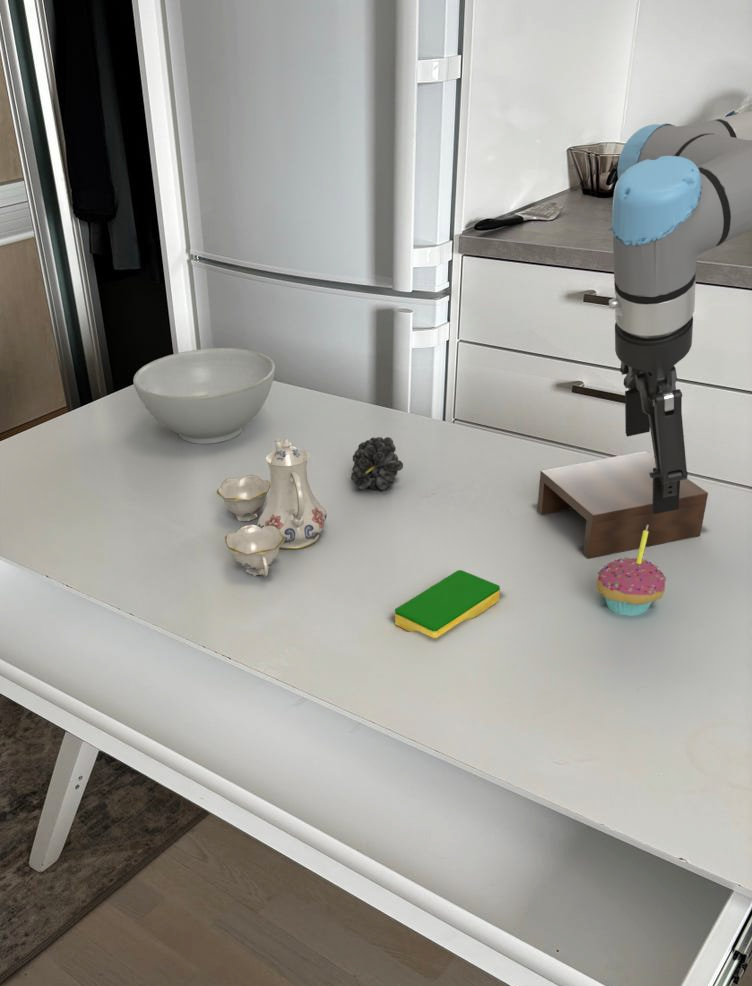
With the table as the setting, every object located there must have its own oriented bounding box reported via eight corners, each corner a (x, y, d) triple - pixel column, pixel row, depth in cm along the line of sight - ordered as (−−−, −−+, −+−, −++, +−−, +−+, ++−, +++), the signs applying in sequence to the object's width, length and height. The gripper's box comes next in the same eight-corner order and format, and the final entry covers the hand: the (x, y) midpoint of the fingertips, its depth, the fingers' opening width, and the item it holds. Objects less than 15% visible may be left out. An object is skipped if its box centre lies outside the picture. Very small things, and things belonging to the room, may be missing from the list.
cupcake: (614, 587, 134) (625, 508, 127) (673, 608, 129) (688, 527, 122) (580, 614, 130) (590, 534, 123) (640, 636, 124) (654, 554, 118)
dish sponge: (393, 624, 131) (393, 609, 130) (459, 583, 138) (459, 568, 137) (434, 644, 126) (435, 629, 125) (500, 600, 134) (501, 585, 132)
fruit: (363, 411, 169) (359, 444, 157) (409, 424, 170) (408, 459, 157) (349, 456, 174) (343, 492, 162) (393, 469, 175) (391, 505, 162)
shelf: (640, 491, 157) (646, 450, 153) (700, 535, 144) (708, 492, 140) (536, 511, 154) (540, 470, 150) (587, 558, 141) (593, 515, 137)
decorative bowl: (115, 437, 193) (105, 377, 186) (219, 396, 207) (212, 339, 200) (201, 473, 176) (193, 408, 169) (307, 425, 190) (304, 364, 183)
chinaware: (212, 516, 164) (190, 425, 155) (307, 491, 166) (291, 399, 156) (242, 601, 142) (218, 500, 132) (352, 571, 143) (336, 469, 133)
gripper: (590, 261, 109) (596, 409, 125) (644, 403, 93) (643, 551, 109) (661, 243, 107) (658, 396, 123) (728, 384, 91) (714, 538, 107)
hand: (651, 469), depth 116 cm, fingers open, 13 cm apart
